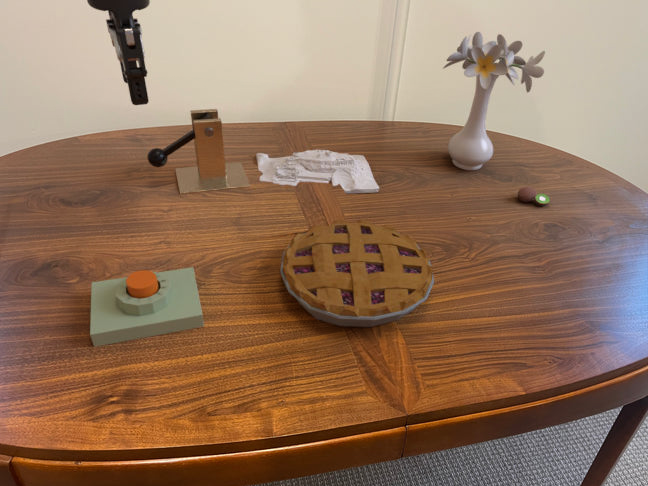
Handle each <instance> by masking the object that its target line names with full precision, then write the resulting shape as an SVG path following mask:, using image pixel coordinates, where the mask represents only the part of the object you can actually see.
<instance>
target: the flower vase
mask: <svg viewBox="0 0 648 486" xmlns="http://www.w3.org/2000/svg"><path fill="white" fill-rule="evenodd" d="M471 36H472V35H471V34H469V36H468V37H467V35H466V36H465V37H463V39H462V41H461V43H460V45H459V46H458V47H457V48H456V51H454V52H453V53H451V54H450V55H449V56H448V57H447V58H446V62H448V63H446V64H445V65H444V66H443V67H442V69H446V68H448V67H450V66H452V65H455V64H457V63H461V62H463V63H462V69H463V70H464V71H463V74H464V76H465V77H466V78H474V77H475V88H474V94H473V98H472V102H471V103H472V104H471V107H470V111H469V114H468V118H467V120H466V122H465V124H464V125H463V127H462V129H460V130H459V131H458V132H456V133H455V134H454V135H452V136H451V137H450V139H449V141H448V143H447V146H446V148H447V153H448V155H449V156H450V158H451V160H452V164H453V165H454V167H456V168H459V169H461V170H465V171H477V170H480V169H481V168H482V167H483V165H485V164H486V163H488V162H489V161H490V160H491V159H492V157H493V155H494V145H493V142H492V139H491V138H490V137H489V135H488V134H487V128H486V120H487V113H488V108H489V104H490V98H491V95H492V91H493V88H494V85H495V84H496V81H497V79H499V77H501V76H505V77H506V78H507V79H508V81H510V82H511V84H512V85H513V86H515V80H519V75H518V72H517V70H516V69H515V68H518V69H521V77H520V78H521V79H520V84H521V85H522V84H525V90H526V93H530V91H532V86H533V79H532V78H534V79H539V78H542V77H543V76H544V74H545V70H544V68H543V67H542V66H539V65H538V64H539V63H541V61H542V60H543V59H544V57H545V55H546V51H545V50H543V51H541V52H540V53H538V54H537V55H536V56H533V55H531V56H530V57H529V59H527V61H526V60H525V59H524V58H523V57H521V56H518V55H517V54H518V53H519V52H520V51H521V50H522V48H523V42H522V41H521V40H515V41H513V42H511V43H510V44H509V45H508V43H507V40H506V38H505V37H504V36H503V35H502V34H501V33H499V34H497V35H496V41H495V40H491V41H488V42H486V43H484V38H483V34H482V33H481V31H476V32H475V33H474V34H473V36H472V39H471ZM470 40H471V45H470ZM497 60H499V61H498V62H497ZM514 79H515V80H514Z"/></svg>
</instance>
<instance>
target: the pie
mask: <svg viewBox="0 0 648 486" xmlns="http://www.w3.org/2000/svg"><path fill="white" fill-rule="evenodd" d="M428 255H429V254H428V252H427V251H426V249H423V248H422V249H421V248H420V246H419V245H418V243H417V240H416V239H414V238H413V237H412V236H410V235H409V234H401V232H399V231H397V228H396V227H395V226H392V225H388V224H384V225H377V224H372V223H371V222H370V221H366V220H364V219H363V220H362V219H359V220H358V221H357V222H351V223H350V222H347V221H346V220H344V219H339V220H334V221H332V223H331V224H328V225H320V224H316V225H313V226H310V228H309V229H308V230H307V231H306V232H304V233H296V234H295V235H294V236H293V237H292V239H291V241H290V243H289V245H287V247H286V248H285V249H284V251H283V252H282V255H281V263H280V268H279V269H280V270H279V273H280V275H281V277H282V280H283V282H284V285H285V288H286V289H287V293H289V294H290V295H291V296H293V297H294V298H295V299H296V300H297V302H298V304H299V305H300V306H301V307H302V308H303V309H304V310H305V311H307V313H309V314H310V315H311V316H312V317H313V318H314V319H316V320H318V321H322V322H325V323H329V324H332V325H334V326H335V325H336V326H338V327H355V328H358V327H359V328H372V327H376V326H380V325H384V324H389V323H393V322H396V321H399V320H400V319H401V318H404V317H405V316H407V315H408V314H410V313H411V312H413V311H414V310H415V309H416V308H417V307H418V306H419V305H420V304H422V303H423V302H425V301H427V300H428V297H429V295H430V293H431V290H432V289H433V286H434V283H435V277H434V273H433V266H432V264H431V260H430V259H429V256H428Z"/></svg>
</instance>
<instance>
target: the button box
mask: <svg viewBox="0 0 648 486" xmlns="http://www.w3.org/2000/svg"><path fill="white" fill-rule="evenodd" d="M150 271H151V272H153V273H155V275H156V277H157V281H158V286H159V289H158V291H157V293H156V294H154V295H152V296H150V297H147V298H141V299H138V298H133V297H132V296H130V294H129V292H128V288H127V284H126V279H127V277H128V276H126V277H125V276H124V277H118V278H111V279H104V280H98V281H92V282H91V283H90V284H91V285H90V286H91V287H90V318H89V319H90V320H89V321H90V322H89V337H90V340H91V342H92V345H93V347H94V348H96V347H101V346H107V345H111V344H113V345H114V344H117V343H123V342H128V341H134V340H139V339H145V338H150V337H157V336H161V335H167V334H171V333H172V334H173V333H177V332H183V331H189V330H193V329H199V328H203V327H205V322H204V321H205V320H204V316H203V310H202V304H201V299H200V294H199V289H198V285H197V279H196V274H195V269H194V267H193V266H191V267H186V268H185V267H184V268H179V269H177V268H176V269H173V270H165V271H152V270H150Z"/></svg>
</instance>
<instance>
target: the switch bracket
mask: <svg viewBox="0 0 648 486" xmlns="http://www.w3.org/2000/svg"><path fill="white" fill-rule="evenodd" d="M189 111H190V119H191V127H192V130H193V129H194V131H195V139H193V143H194V144H193V145H194V153H195V159H196V166H187V167H177V168H174V171H175V176H176V181H177V185H178V186H177V187H178V190H179V195H189V194H190V195H191V194H199V193H210V192H217V191H227V190H237V189H247V188H251V183H250V181H249V178H248V177H247V174H246V171H245V169H244V165H243V164H242V162H240V161H239V162H230V163H226V157H225V146H224V133H223V122H222V119H221V118H219V112H218V111H219V110H218V109H217V108H211V109H210V108H209V109H194V110H192V109H191V110H189ZM208 113H209V114H210V116H211V117H212V118H213V119H203V120H199V119H200V118H202V117H203V116H205V115H206V114H208Z"/></svg>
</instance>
